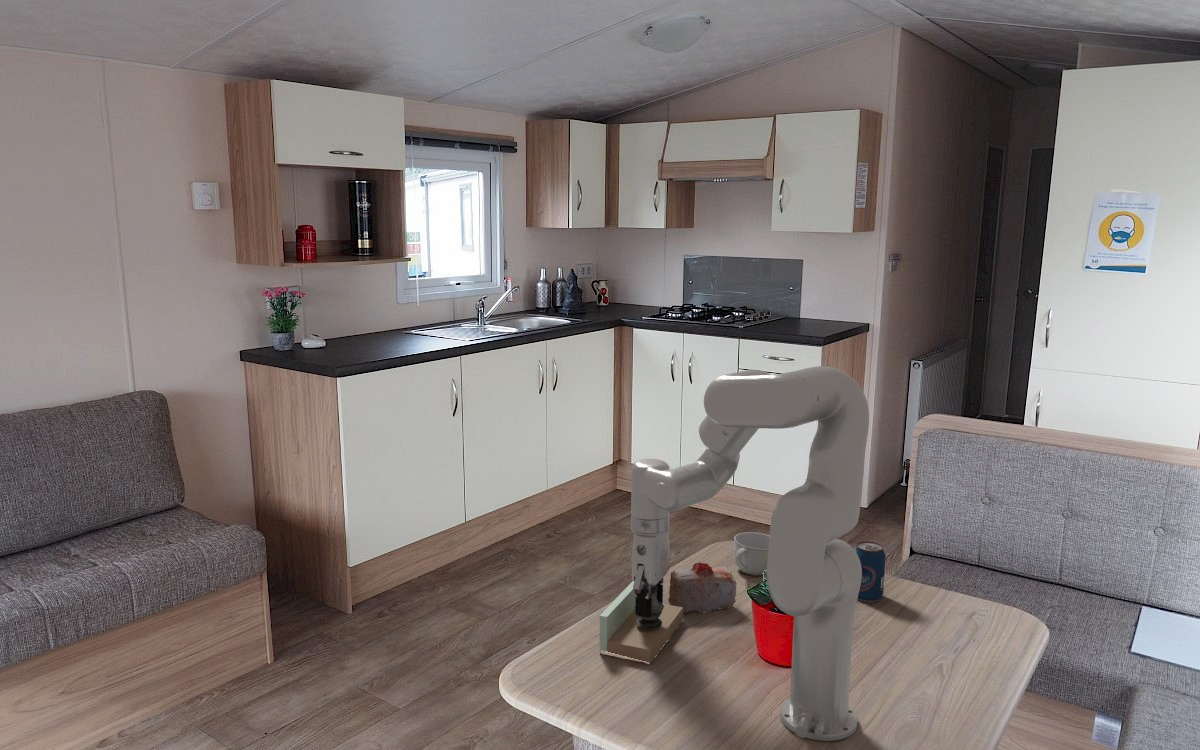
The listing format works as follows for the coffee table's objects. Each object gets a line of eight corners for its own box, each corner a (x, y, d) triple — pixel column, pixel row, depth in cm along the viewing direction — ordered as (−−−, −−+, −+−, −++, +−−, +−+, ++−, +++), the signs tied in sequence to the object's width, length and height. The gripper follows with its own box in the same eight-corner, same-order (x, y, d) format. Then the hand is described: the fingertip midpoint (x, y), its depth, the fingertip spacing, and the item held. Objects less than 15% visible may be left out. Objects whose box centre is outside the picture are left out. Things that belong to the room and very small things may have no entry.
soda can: (846, 597, 192) (848, 546, 190) (857, 587, 198) (860, 537, 196) (876, 606, 188) (879, 554, 186) (887, 595, 194) (890, 544, 192)
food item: (724, 596, 193) (725, 554, 191) (738, 611, 186) (739, 568, 184) (666, 602, 190) (667, 560, 188) (678, 618, 182) (679, 574, 181)
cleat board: (650, 664, 163) (651, 625, 161) (599, 653, 167) (599, 615, 166) (682, 620, 181) (683, 585, 180) (636, 611, 185) (636, 576, 184)
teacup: (752, 558, 215) (753, 528, 213) (787, 572, 206) (789, 540, 205) (714, 572, 206) (715, 541, 204) (749, 587, 198) (751, 554, 196)
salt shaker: (639, 631, 168) (640, 573, 166) (630, 618, 174) (630, 561, 172) (667, 627, 170) (668, 570, 168) (658, 614, 175) (658, 558, 173)
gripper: (653, 540, 159) (652, 631, 162) (682, 511, 174) (680, 595, 177) (615, 534, 162) (615, 623, 165) (647, 507, 177) (646, 589, 180)
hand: (649, 608), depth 171 cm, fingers closed on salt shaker, 5 cm apart
